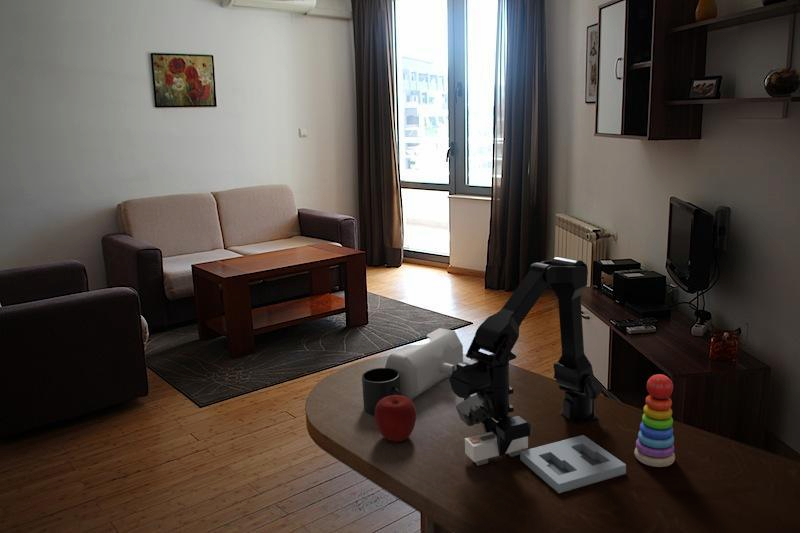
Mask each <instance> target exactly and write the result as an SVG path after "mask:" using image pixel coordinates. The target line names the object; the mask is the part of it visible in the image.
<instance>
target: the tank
mask: <svg viewBox="0 0 800 533" xmlns="http://www.w3.org/2000/svg"><path fill="white" fill-rule="evenodd" d="M425 337H426V339H427V338H428V339H429V341H428V342H426V343H423V344H408V345H405V346H403V347H401V348H399V349H397V350H395V351H393V352H391V353H390V354H389V356H388V357H387V359H386V363H385V367H384V368H390V369H394V370H396V371H398V372H399V375H400V393H401V395H402V396H406V397H408V398H409V399H411V400H412V401H413V400H414V399H415V398H417V397H418V396H420V395H422V394H423V393H424V392H426V391H428V390H430V389H431V388H432V387H434V386H436V385H437V384H439V383H441V382H442V381H444V380H446V379H447V378H448V377H451V374H452V372H453V371H454V370H456V365H457V364H458V363H462V362H464V346H463V344H462V342H461V340H460V339H459V336H458V335H457V332H456V331H455V330H451V329H446V328H441V327H439V328H437V329H435V330H433V331H432V332H429V333H428V334H426V336H425Z"/></svg>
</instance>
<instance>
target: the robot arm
mask: <svg viewBox="0 0 800 533" xmlns="http://www.w3.org/2000/svg"><path fill="white" fill-rule="evenodd" d="M588 276H589V269H588V266H587V264H586V263H585V261H583V260H580V259H574V258H569V257H563V256H555V257H554V258H553V259H552V260H543V261H540V262H534V263H532V264H530V266H529V267H528V271H527V273H526V275H525V276H524V278H523V279H522V281H521V282H520V283H519V284H518V286H517V287H516V288H515V290H514V292H512V295H510V297H509V298H508V300H507V301H505V304H504V305H503V306H502V307H501V309H500V310H499V311H498V312H494V314H492V315H489V316H488V317H486V319H485V320H484V321H483V322H482V323H481V324H480V325H479V326H478V328H477V329H476V331H475V334H474V337H473V339H472V341H471V343H470V346H469V348H468V349H467V352H466V354H465V357H466V358H467V359H469V360H467V361H463V362H462V363H458V364H457V365H456V370H454V371H453V372H452V374H451V375H450V376H449V384H450V388H451V390H452V391H453V393H454V394H455V395H456V396H457V397H458V398H461V399H463V400H462V401H461V402H459V403H458V404H457V405H455V408H456V411H457V414H458V416H459V419H460V420H461V421H462V422H463V423H464V424H465V425H466V426H468V427H473V426H475V425H479V424H481V426H482V428H483V431H484V433H488V432H493V433H494V434H495V435H496V438H497V445H498V451H499V457H503V456H505V453H506V451H507V449H508V447H509V446H510V444H511V442H512V440H515V439H519V438H523V437H527V436H528V437H529V436H531V435H532V425H531V424H530V423H529V422H528V421H527V420H525V419H523V418H522V417H521V416H520V415H516V416H510V415H509V413H513V412H515V411H514V410H515V409H514V408H515V407H514V406H513V405H512V404H510V403H511V402H510V400H511V399H510V397H511V396H510V395H512V394H514V388H513V387H511V386H510V362H511V361H513V360H516V359H517V355H516V354H514V353H513V352H512V351H513V349H514V347H515V346H516V343H517V341H518V339H519V337H520V327H521V324H522V322H523V321H524V320H525V319H526V317H527V316H528V314H529V313H530V311H532V309H533V307H534V306H535V304H536V303H537V302H538V300H540V297H541V296H542V295H543V293H544V292H545V290H546V289H547V288H548V287H549V285H550V287H551V289H552V291H553V292H554V294H555V295H556V297H557V304H558V316H559V317H558V318H559V330H560V332H559V333H560V342H561V345H560V346H561V355H560V357H559V358H558V360H557V362H554V363H553V370H554V372H553V373H554V374H553V379H555V382H556V383H557V386H558V389H559V390H561V391H564V398H563V404H562V405H563V407H562V409H563V410H561V411H560V414H561V415H562V416H564V417H565V418H566V419H568V420H569V421H571V422H573V423H574V424H576V425H577V424H583V423H586V422H591V421H593V420H597V419H599V415H598V414H596V413H595V400H597V399H599V396H600V395H601V393H602V389H603V385H602V384H601V383H600V382H599V381H598V380H597V379H596V378H595V375H594V371H593V365H592V363H591V362H590V360H589V359H588V357H587V355H586V354H585V348H584V345H585V344H584V328H583V316H582V315H583V313H582V297H581V296H582V294H583V292H584V291H585V289H586V287H587V285H588ZM480 350H483V351H486V352H488V353H490V354H487V353H485V352H482V351H480ZM506 454H507V453H506Z"/></svg>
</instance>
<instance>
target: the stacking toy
mask: <svg viewBox="0 0 800 533" xmlns="http://www.w3.org/2000/svg"><path fill="white" fill-rule="evenodd" d="M646 390H647V392H648V394H649V395H647V396H646V397H645V405H644V406H643V414H642V415H641V416H642V417H641V420H642V421H641V422H640V423H639V424H640V425H639V431H638V434H637V437H638V438H637V439H636V440H635V448H634V451H633V452H634V457H635V458H636V459H637V460H638V461H639V462H640V463H641V464H644V465H646V466H650V467H654V468H655V467H656V468H663V467H664V468H665V467H669V466H671V465H672V464H673V463H675V460H676V454H675V452H674V451H675V445H674V443H675V436H674V435H673V433H674V428H673V424H674V419H673V417H672V415H673V409H672V405H673V402H672V399H671V398H670V396H671V395H672V393H673V392H674V384H673V381H672V379H670V377H668V376H666V375H665V374H661V373H658V374H653V375H652V376H650V377H649V378H648V380H647V382H646Z"/></svg>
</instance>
